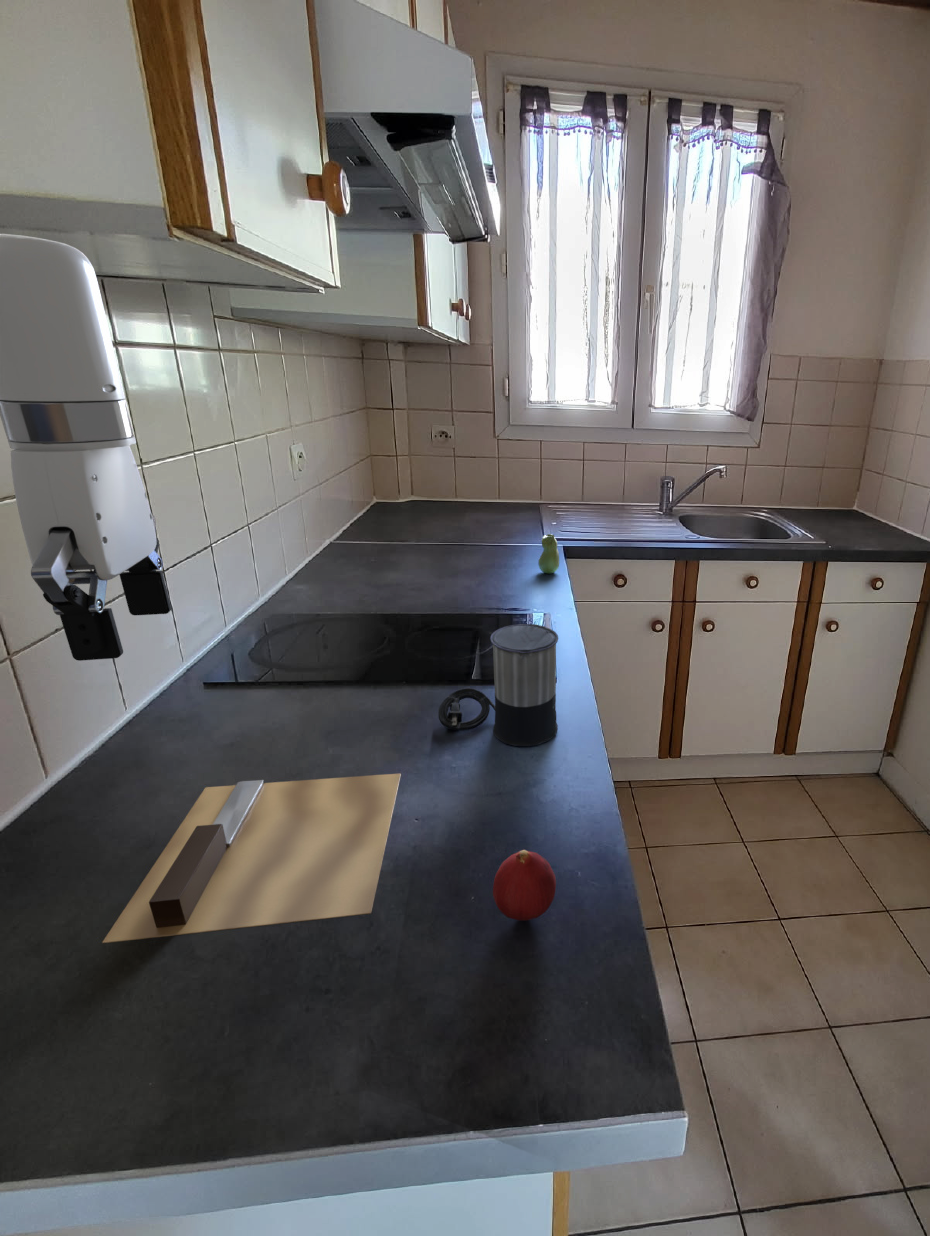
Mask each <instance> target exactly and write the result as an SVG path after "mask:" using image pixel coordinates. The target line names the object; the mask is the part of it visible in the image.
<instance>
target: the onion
mask: <svg viewBox="0 0 930 1236" xmlns="http://www.w3.org/2000/svg"><path fill="white" fill-rule="evenodd" d="M492 885H493V886H492V896H493V900H494V903H495V905H496V907H497V909H498V910H499V911H500V912H501V914H503V915H504V916H505V917H507V918H509V919H512V920H515V921H530V920H534V919H537V918H540V916H542V915H543V914H545V913H546V912H547V911H548V909H549V908H550V906H551V904H552V903H553V901H554V900H555V895H556V888H557V879H556V875H555V872H554V870H553V868H552V866H551V863H550V862H549V861H548V860H547V859H546V858H545V857H543V856H542V855H540V854H539V853H538V852H535V851H531V850H526V849H521V850H519V851H517V852H515V853H513V854H511V855H510V856H508V857H507V858H505V860H503V861H502V863H501V864H500V866H499V868H498V870H497V871H496V873H495V876H494V879H493V884H492Z"/></svg>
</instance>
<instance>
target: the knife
mask: <svg viewBox="0 0 930 1236" xmlns="http://www.w3.org/2000/svg"><path fill="white" fill-rule="evenodd" d="M264 783H265V780H264V779H256V780H242V781H238V782H237V783H236V784H235V785H236V786H235V788H234V790H233V791H232V793H231V795H230V796H229V798H228V800H227V801H226V803H225V805H224V806H223V808H222V810H221V811H220V813H219V815H218V816H217V818H216V820H215V821H214V823H213V825H202V826H196V828H195V830H194V831H193V833H192V834H191V836H190V838H189V839H188V841H187V842H186V844H185V846H184V847H183V849H182V850H181V852H180V853H179V855H178V857H177V858H176V860H175V861H174V863H173V865H172V866H171V868H170V869H169V871H168V872H167V874H166V876H165V877H164V879H163V880H162V882H161V884H160V885H159V887H158V888H157V890H156V891H155V893H154V895H153V896H152V898H151V899H150V901H149V905H150V908H151V912H152V915H153V918H154V922H155V925H156V928H160V927H169V926H178V925H186V924H187V922H188V920H189V918H190V916H191V914H192V912H193V911H194V909H195V907H196V905H197V903H198V901H199V899H200V898H201V896H202V894H203V892H204V890H205V888H206V886H207V885H208V883H209V881H210V879H211V877H212V875H213V873H214V872H215V870H216V868H217V866H218V864H219V862H220V861H221V859H222V857H223V855H224V853H225V851H226V849H227V848H228V846H230V845H231V844H232V842H233V840H234V838H235V836H236V834H237V832H238V830H239V829H240V827H241V825H242V823H243V821H244V819H245V817H246V816H247V814H248V812H249V810H250V808H251V806H252V804H253V802H254V801H255V799H256V797H257V795H258V793H259V791H260V789H261V788H262V786H263V784H264Z"/></svg>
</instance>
